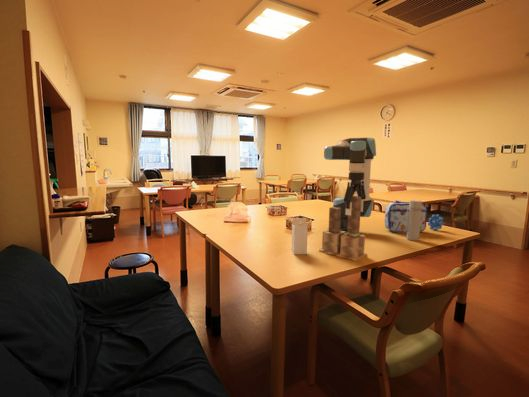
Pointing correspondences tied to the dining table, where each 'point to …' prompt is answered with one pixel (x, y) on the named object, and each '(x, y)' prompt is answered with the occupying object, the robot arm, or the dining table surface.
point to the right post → (354, 218)
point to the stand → (343, 245)
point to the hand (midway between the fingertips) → (354, 213)
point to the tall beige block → (414, 220)
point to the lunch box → (401, 216)
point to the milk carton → (299, 236)
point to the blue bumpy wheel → (435, 222)
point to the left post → (334, 219)
